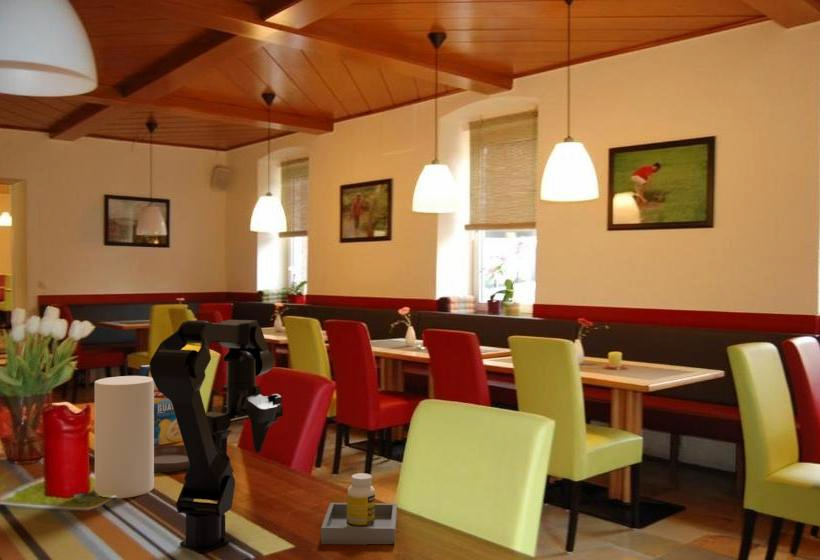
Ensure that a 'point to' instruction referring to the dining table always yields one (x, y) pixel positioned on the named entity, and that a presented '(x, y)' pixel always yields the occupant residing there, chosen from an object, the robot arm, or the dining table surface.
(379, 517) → the gray rectangular open tray
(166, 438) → the beverage box
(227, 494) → the robot arm
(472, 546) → the dining table surface
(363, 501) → the supplement bottle
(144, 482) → the cylinder
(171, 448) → the plant saucer
